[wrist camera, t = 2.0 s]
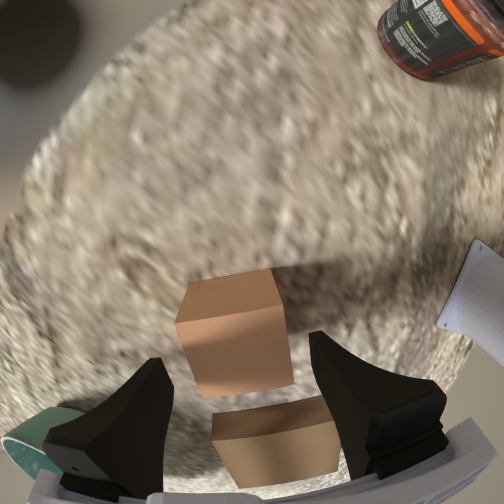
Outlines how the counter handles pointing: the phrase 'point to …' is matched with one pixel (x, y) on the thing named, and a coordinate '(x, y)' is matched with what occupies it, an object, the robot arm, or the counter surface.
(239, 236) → the counter surface
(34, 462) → the bowl
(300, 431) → the walnut block
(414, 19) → the supplement bottle
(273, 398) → the counter surface
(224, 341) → the terracotta cube
